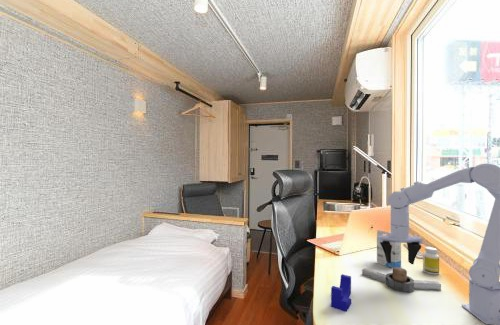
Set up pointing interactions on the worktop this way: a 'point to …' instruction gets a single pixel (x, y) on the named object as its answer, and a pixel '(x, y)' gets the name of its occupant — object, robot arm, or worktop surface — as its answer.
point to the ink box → (394, 252)
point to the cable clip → (341, 294)
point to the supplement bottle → (431, 261)
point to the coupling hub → (399, 274)
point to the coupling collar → (402, 286)
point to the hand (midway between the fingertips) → (399, 262)
